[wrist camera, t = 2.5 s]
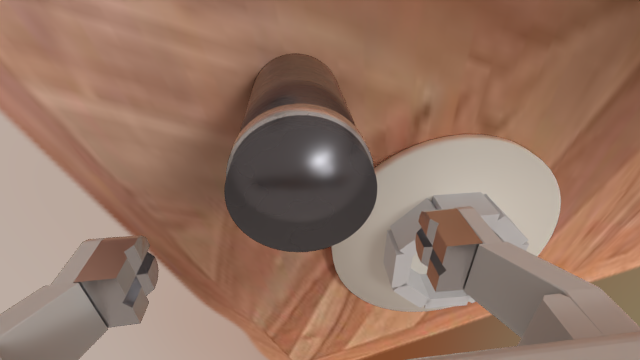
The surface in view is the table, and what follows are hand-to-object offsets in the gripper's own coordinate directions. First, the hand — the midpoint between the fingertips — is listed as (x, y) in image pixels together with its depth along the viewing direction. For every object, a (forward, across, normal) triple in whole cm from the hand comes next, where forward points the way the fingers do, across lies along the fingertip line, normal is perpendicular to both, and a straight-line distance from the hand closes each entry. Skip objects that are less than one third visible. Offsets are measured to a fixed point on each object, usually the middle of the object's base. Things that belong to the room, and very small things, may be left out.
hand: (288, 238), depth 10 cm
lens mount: (+12, -12, +12) cm, 20 cm away
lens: (+12, -1, 0) cm, 12 cm away
